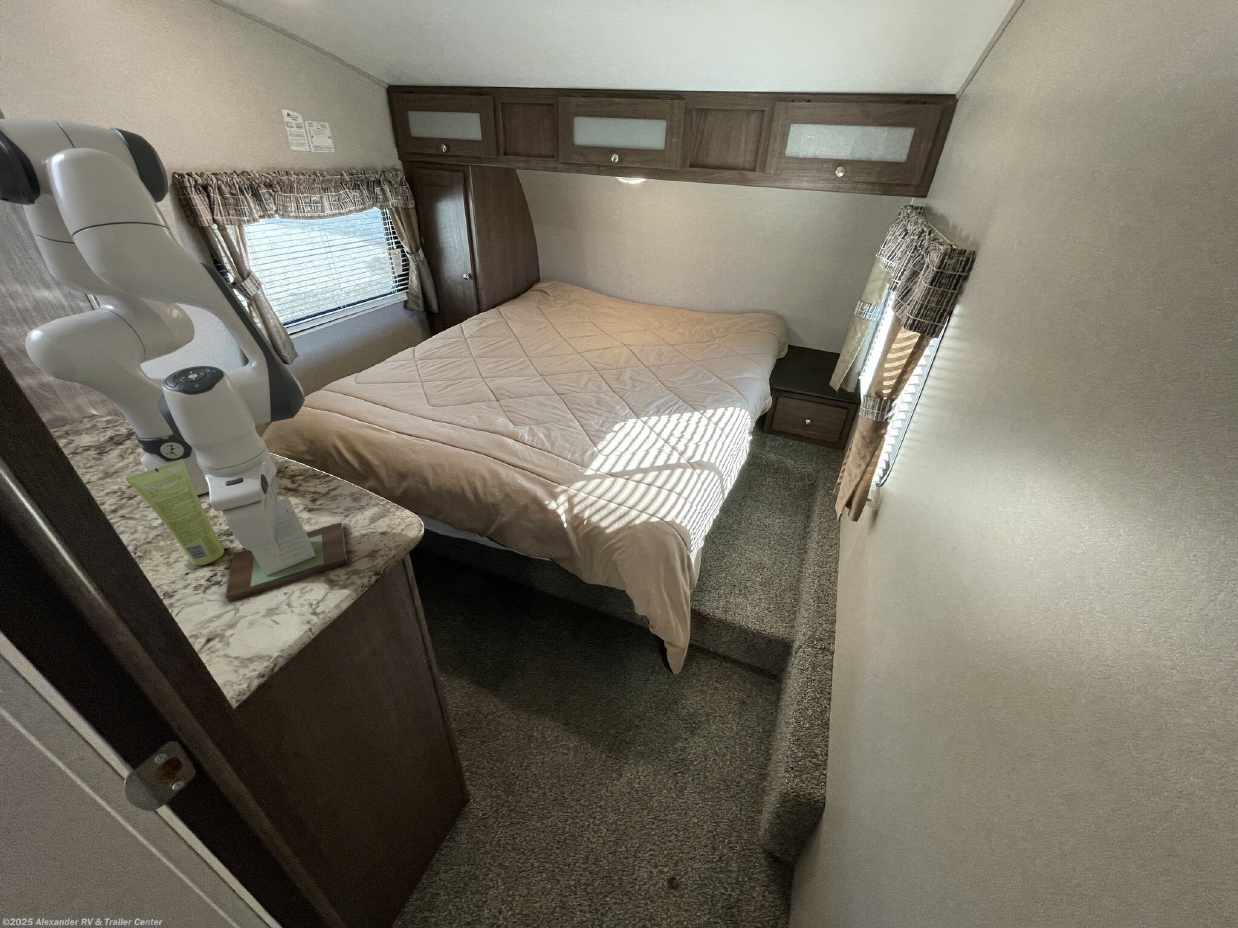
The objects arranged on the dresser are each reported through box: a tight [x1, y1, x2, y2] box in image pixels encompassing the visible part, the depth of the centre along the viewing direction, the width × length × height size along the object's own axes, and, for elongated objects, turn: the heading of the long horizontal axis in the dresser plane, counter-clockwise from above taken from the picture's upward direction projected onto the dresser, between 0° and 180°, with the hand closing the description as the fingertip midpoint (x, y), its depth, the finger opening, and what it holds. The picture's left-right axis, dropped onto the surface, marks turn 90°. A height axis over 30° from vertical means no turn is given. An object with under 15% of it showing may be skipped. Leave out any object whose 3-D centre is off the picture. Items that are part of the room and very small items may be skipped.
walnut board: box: [225, 522, 348, 603], centre depth 89 cm, size 12×18×1 cm, turn 119°
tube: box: [125, 459, 225, 566], centre depth 85 cm, size 6×5×20 cm
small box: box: [251, 496, 316, 576], centre depth 85 cm, size 8×6×10 cm
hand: (275, 536), depth 85 cm, fingers open, 8 cm apart
